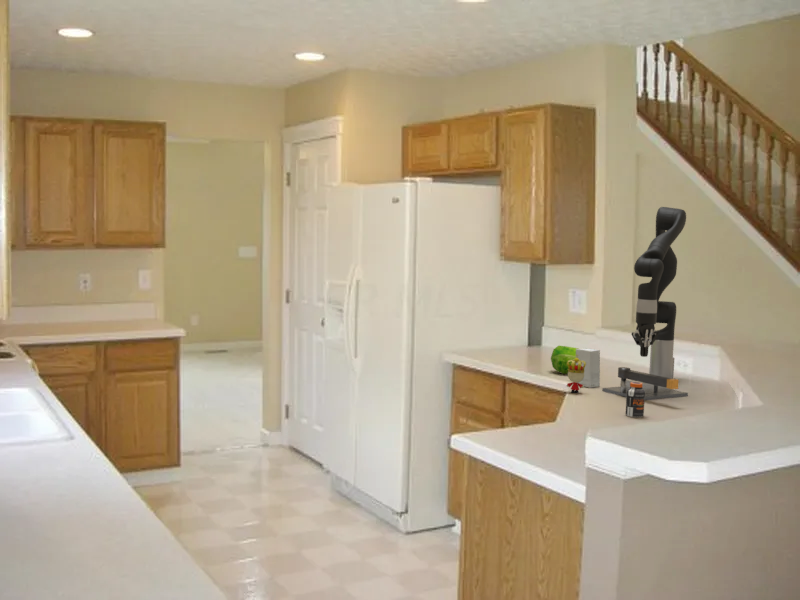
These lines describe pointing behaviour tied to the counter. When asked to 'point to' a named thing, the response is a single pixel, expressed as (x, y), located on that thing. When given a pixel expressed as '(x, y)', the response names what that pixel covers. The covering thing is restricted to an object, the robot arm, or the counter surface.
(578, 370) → the toy
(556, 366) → the lettuce
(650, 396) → the tray
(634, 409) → the pill bottle
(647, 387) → the block
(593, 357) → the skincare box
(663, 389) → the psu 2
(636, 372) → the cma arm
